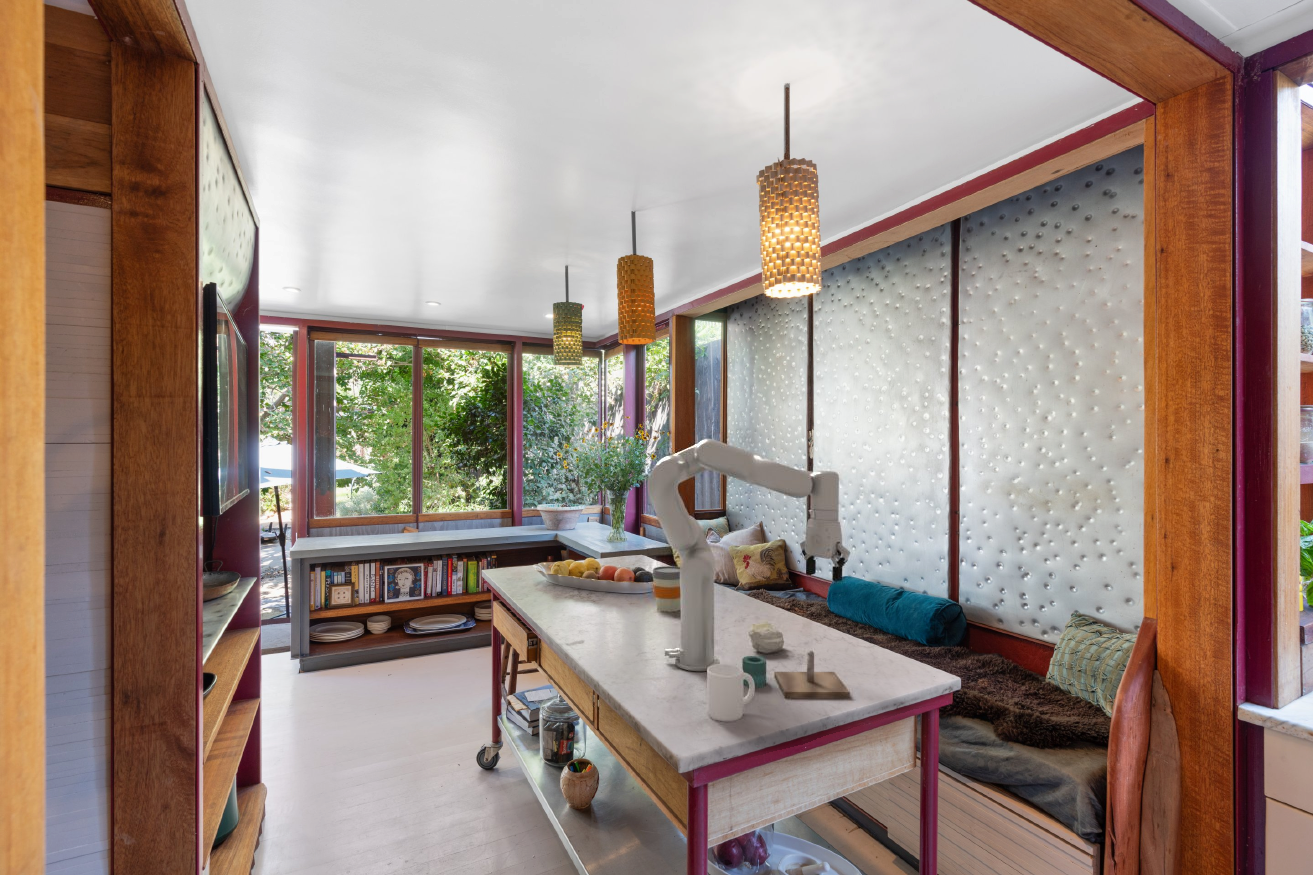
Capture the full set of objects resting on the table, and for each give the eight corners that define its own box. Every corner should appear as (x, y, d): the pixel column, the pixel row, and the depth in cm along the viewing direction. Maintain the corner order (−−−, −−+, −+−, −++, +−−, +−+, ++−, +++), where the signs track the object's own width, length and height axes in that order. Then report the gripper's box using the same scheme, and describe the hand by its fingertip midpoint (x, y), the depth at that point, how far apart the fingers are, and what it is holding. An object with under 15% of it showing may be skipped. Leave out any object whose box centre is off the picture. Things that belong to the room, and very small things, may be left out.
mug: (745, 702, 153) (745, 659, 153) (764, 716, 146) (764, 671, 146) (701, 710, 149) (701, 666, 149) (717, 724, 141) (717, 678, 141)
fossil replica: (790, 649, 194) (760, 646, 199) (789, 621, 195) (758, 619, 200) (776, 657, 184) (744, 654, 189) (775, 627, 185) (743, 625, 190)
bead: (744, 686, 163) (744, 663, 163) (741, 678, 169) (741, 655, 169) (767, 687, 163) (767, 663, 163) (763, 678, 169) (763, 655, 169)
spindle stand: (784, 697, 156) (784, 659, 156) (774, 677, 170) (774, 641, 170) (849, 698, 156) (849, 659, 156) (834, 677, 170) (834, 642, 170)
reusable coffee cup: (691, 607, 243) (691, 568, 243) (674, 614, 232) (674, 573, 233) (663, 603, 250) (663, 564, 250) (645, 610, 239) (645, 570, 239)
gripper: (792, 513, 181) (791, 573, 181) (839, 519, 167) (838, 585, 166) (811, 511, 185) (810, 570, 185) (858, 518, 171) (857, 582, 170)
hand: (823, 577), depth 176 cm, fingers open, 9 cm apart
